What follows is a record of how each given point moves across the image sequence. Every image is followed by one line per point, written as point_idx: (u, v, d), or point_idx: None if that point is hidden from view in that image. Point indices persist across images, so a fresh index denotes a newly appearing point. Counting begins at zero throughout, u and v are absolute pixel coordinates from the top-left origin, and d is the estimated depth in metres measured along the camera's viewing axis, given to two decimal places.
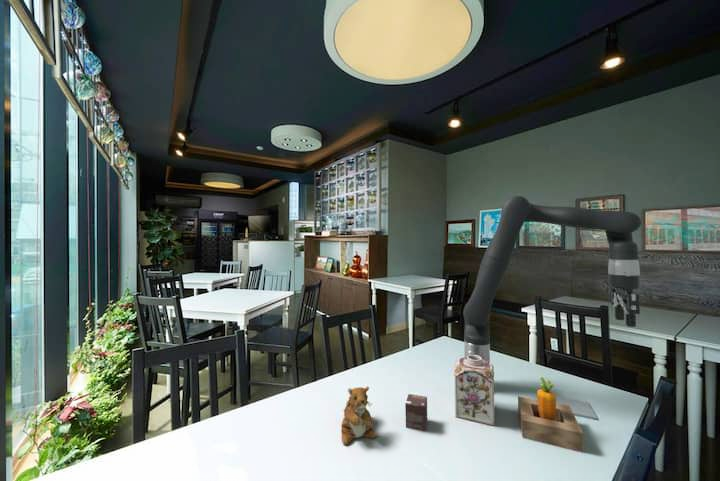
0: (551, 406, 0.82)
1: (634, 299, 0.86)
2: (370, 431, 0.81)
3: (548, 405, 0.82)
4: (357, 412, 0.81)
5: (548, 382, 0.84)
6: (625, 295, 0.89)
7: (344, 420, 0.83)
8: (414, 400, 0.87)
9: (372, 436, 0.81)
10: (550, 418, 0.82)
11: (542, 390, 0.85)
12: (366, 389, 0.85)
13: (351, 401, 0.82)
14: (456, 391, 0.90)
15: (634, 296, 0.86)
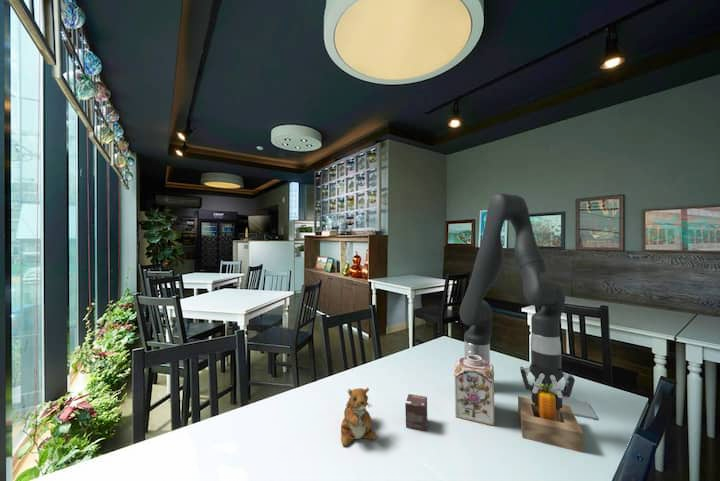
0: (551, 406, 0.82)
1: None
2: (370, 432, 0.81)
3: (548, 405, 0.82)
4: (357, 413, 0.81)
5: None
6: (562, 376, 0.82)
7: (344, 421, 0.82)
8: (414, 400, 0.87)
9: (372, 437, 0.80)
10: (550, 418, 0.82)
11: (542, 390, 0.85)
12: (366, 390, 0.84)
13: (351, 402, 0.82)
14: (456, 391, 0.90)
15: None
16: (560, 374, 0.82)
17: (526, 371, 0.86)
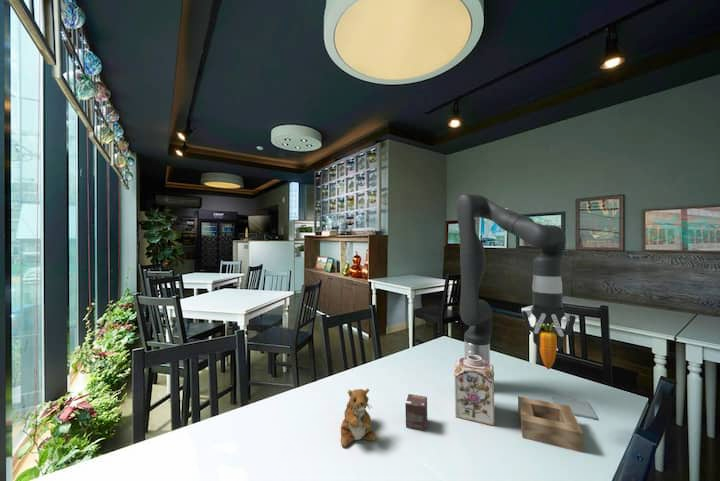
0: (552, 344, 0.83)
1: None
2: (370, 434, 0.80)
3: (549, 343, 0.84)
4: (356, 414, 0.80)
5: None
6: (563, 315, 0.83)
7: (344, 422, 0.82)
8: (414, 400, 0.87)
9: (372, 439, 0.79)
10: (551, 356, 0.84)
11: (543, 331, 0.86)
12: (366, 391, 0.83)
13: (351, 403, 0.81)
14: (456, 391, 0.90)
15: None
16: (561, 313, 0.83)
17: (528, 313, 0.88)
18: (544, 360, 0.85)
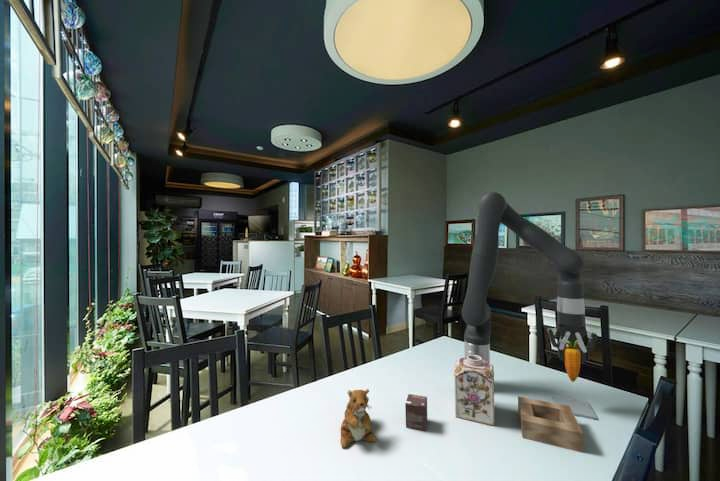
0: (576, 359, 0.93)
1: None
2: (370, 435, 0.80)
3: (573, 358, 0.93)
4: (356, 415, 0.80)
5: None
6: (586, 333, 0.93)
7: (343, 422, 0.82)
8: (414, 400, 0.87)
9: (371, 440, 0.79)
10: (575, 370, 0.93)
11: (568, 347, 0.96)
12: (366, 392, 0.83)
13: (350, 403, 0.81)
14: (456, 391, 0.90)
15: None
16: (584, 331, 0.93)
17: (553, 331, 0.97)
18: (569, 373, 0.95)
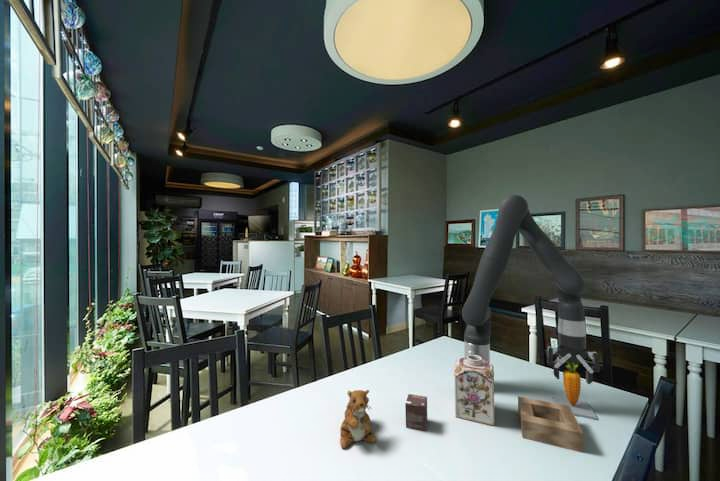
0: (576, 384, 0.93)
1: None
2: (369, 435, 0.80)
3: (573, 383, 0.93)
4: (356, 415, 0.79)
5: (573, 364, 0.96)
6: (587, 355, 0.93)
7: (343, 423, 0.81)
8: (414, 400, 0.87)
9: (371, 440, 0.79)
10: (576, 395, 0.93)
11: (567, 371, 0.96)
12: (366, 392, 0.83)
13: (350, 404, 0.81)
14: (456, 391, 0.90)
15: None
16: (585, 354, 0.93)
17: (553, 350, 0.97)
18: (569, 398, 0.95)
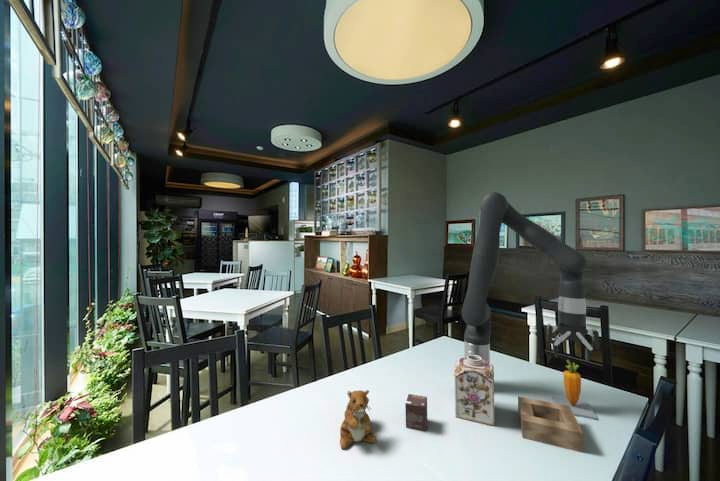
0: (576, 384, 0.93)
1: None
2: (369, 436, 0.79)
3: (574, 383, 0.93)
4: (356, 416, 0.79)
5: (573, 364, 0.95)
6: (587, 332, 0.93)
7: (343, 423, 0.81)
8: (414, 400, 0.87)
9: (371, 441, 0.79)
10: (576, 395, 0.93)
11: (568, 371, 0.96)
12: (366, 392, 0.83)
13: (350, 404, 0.81)
14: (456, 391, 0.90)
15: None
16: (585, 331, 0.93)
17: (553, 328, 0.97)
18: (569, 398, 0.95)
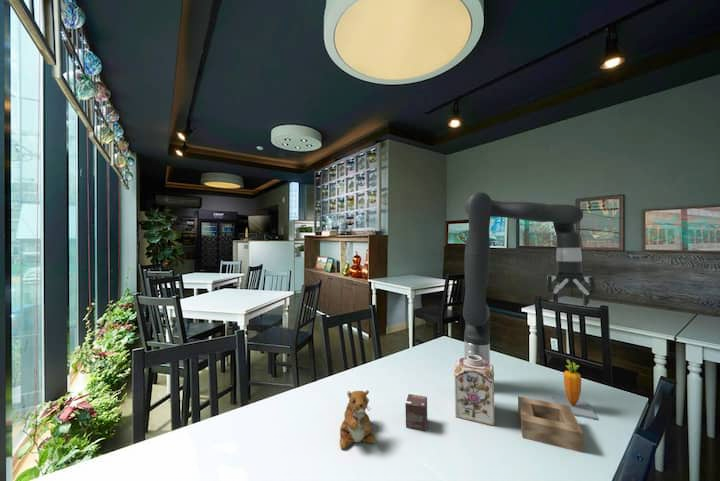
0: (577, 384, 0.93)
1: None
2: (369, 436, 0.79)
3: (574, 383, 0.93)
4: (356, 416, 0.79)
5: (574, 364, 0.95)
6: (583, 278, 1.01)
7: (343, 424, 0.81)
8: (414, 400, 0.87)
9: (371, 441, 0.78)
10: (576, 395, 0.93)
11: (568, 371, 0.96)
12: (366, 393, 0.82)
13: (350, 404, 0.80)
14: (456, 391, 0.90)
15: None
16: (581, 278, 1.01)
17: (552, 278, 1.06)
18: (569, 398, 0.95)
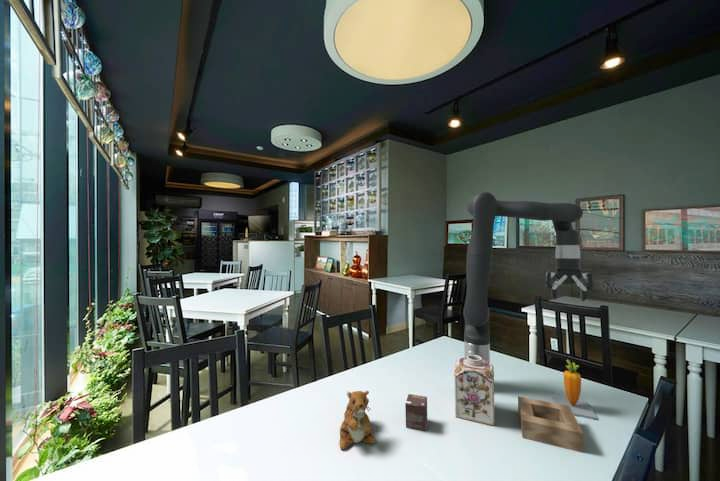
0: (577, 384, 0.93)
1: None
2: (369, 437, 0.79)
3: (574, 383, 0.93)
4: (355, 416, 0.79)
5: (573, 364, 0.95)
6: (581, 275, 1.04)
7: (343, 424, 0.81)
8: (414, 400, 0.87)
9: (371, 442, 0.78)
10: (576, 395, 0.93)
11: (568, 371, 0.96)
12: (366, 393, 0.82)
13: (350, 405, 0.80)
14: (456, 391, 0.90)
15: None
16: (579, 274, 1.04)
17: (551, 274, 1.09)
18: (569, 398, 0.95)
